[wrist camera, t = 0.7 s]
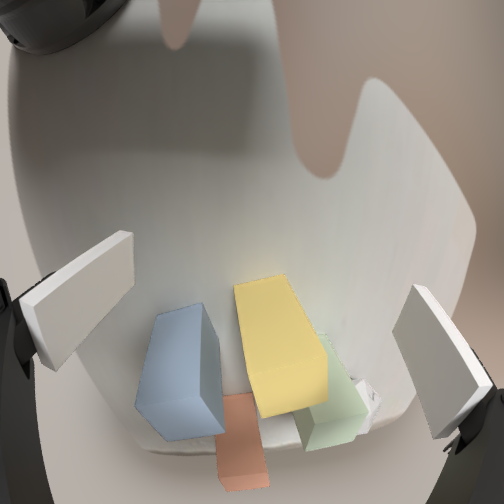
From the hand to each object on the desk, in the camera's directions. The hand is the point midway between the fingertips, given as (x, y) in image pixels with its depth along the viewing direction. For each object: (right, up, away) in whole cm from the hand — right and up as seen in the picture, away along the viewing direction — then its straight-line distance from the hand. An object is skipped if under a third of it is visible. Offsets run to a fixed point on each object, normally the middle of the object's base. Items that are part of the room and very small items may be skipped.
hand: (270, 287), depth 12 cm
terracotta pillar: (-3, -19, +21) cm, 29 cm away
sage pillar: (+5, -10, +19) cm, 22 cm away
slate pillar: (-7, -6, +16) cm, 19 cm away
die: (+11, -18, +23) cm, 31 cm away
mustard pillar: (0, -3, +16) cm, 16 cm away
